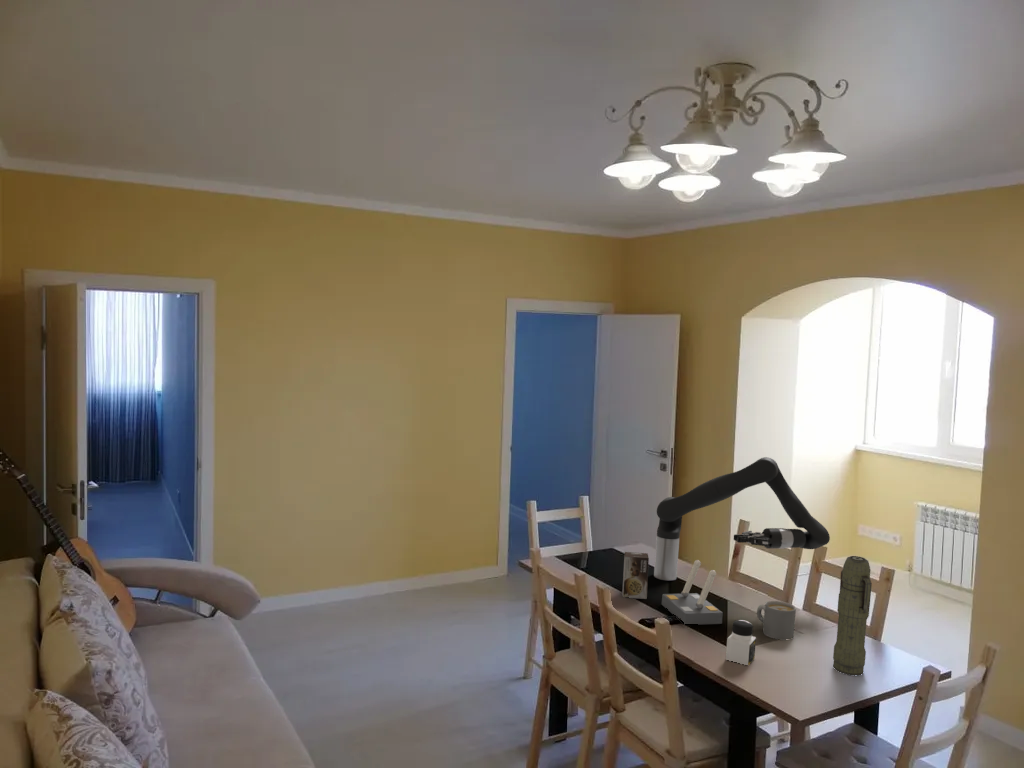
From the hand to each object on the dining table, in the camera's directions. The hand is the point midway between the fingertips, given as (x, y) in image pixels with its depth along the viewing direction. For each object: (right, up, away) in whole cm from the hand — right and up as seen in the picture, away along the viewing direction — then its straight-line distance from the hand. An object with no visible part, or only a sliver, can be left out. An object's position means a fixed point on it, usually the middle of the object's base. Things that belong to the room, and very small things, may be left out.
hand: (735, 538), depth 288 cm
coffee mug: (+7, -28, -22) cm, 36 cm away
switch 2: (-17, -21, -15) cm, 31 cm away
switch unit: (-19, -26, -8) cm, 33 cm away
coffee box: (-37, -24, +8) cm, 44 cm away
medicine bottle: (-12, -29, -47) cm, 56 cm away
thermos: (+20, -31, -50) cm, 62 cm away
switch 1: (-20, -20, -3) cm, 28 cm away
